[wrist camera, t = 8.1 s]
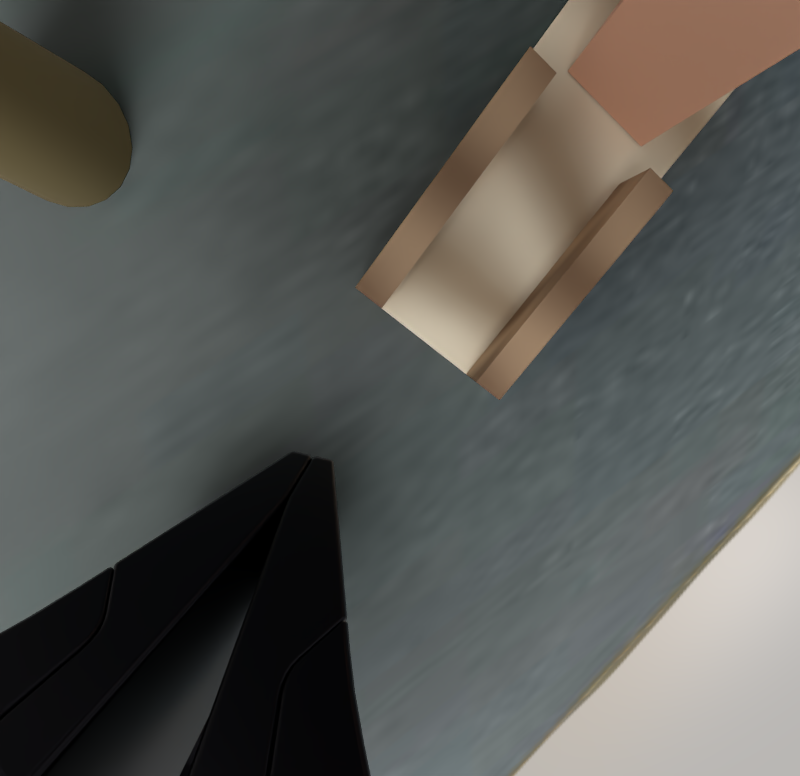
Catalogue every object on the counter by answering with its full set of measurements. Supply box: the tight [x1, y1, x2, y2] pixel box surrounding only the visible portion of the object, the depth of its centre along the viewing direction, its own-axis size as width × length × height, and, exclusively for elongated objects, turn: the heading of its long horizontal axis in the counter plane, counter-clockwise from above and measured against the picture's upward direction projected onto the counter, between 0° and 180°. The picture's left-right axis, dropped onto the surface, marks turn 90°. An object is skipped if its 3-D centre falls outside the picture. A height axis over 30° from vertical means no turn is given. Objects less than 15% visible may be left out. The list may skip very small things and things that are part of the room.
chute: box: [355, 0, 733, 400], centre depth 17 cm, size 20×9×4 cm, turn 142°
